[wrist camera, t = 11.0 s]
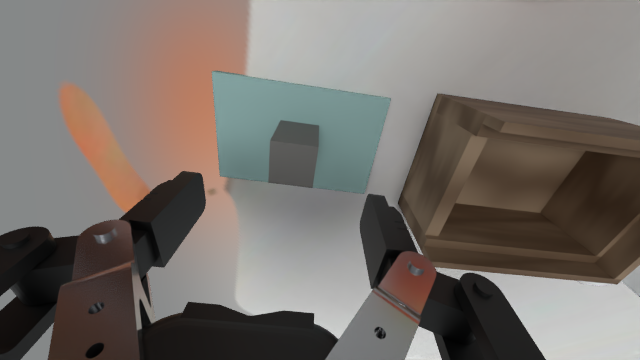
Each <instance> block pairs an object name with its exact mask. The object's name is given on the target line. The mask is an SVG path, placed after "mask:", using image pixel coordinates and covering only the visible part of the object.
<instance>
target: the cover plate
mask: <svg viewBox="0 0 640 360" xmlns="http://www.w3.org/2000/svg"><path fill="white" fill-rule="evenodd" d="M212 81H213V94H214V107H215V118H216V132H217V145H218V158H219V170H220V176H222V177H230V178H238V179H247V180H255V181H263V182H268V183H276V184H284V185H293V186H301V187H309V188H321V189H329V190H337V191H345V192H353V193H362V194H364V193H365V189H366V186H367V182H368V178H369V175H370V171H371V168H372V164H373V161H374V157H375V154H376V150H377V147H378V143H379V139H380V136H381V132H382V129H383V125H384V122H385V118H386V115H387V111H388V107H389V104H390V100H391V98H386V97H380V96H373V95H367V94H360V93H353V92H347V91H340V90H334V89H327V88H321V87H314V86H307V85H301V84H294V83H288V82H281V81H274V80H268V79H261V78H255V77H248V76H246V75H243V74H236V73H229V72H222V71H213V72H212Z"/></svg>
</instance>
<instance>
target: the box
mask: <svg viewBox="0 0 640 360" xmlns="http://www.w3.org/2000/svg"><path fill="white" fill-rule="evenodd" d="M398 204H399V206H400V208H401V210H402V212H403V214H404V216H405V218H406V220H407V223H408V225H409V227H410V229H411V231H412V233H413V235H414V237H415V239H416V241H417V243H418V245H419V247H420V249H421V251H422V253H423V255H424V257H426V258H427V259H428V260H429V261H430V262H431V263H432V264H433V265H434V267H440V268H450V269H461V270H471V271H482V272H492V273H503V274H513V275H524V276H534V277H545V278H555V279H566V280H576V281H586V282H597V283H607V284H618V283H619V282H620V281H622V280H623V279H624V278H625V277H626V276H627V275H629V274H630V273H631V272H632V271H633V270H634V269H636V268H637V267H638V266H639V265H640V126H638V125H634V124H630V123H627V122H623V121H619V120H615V119H611V118H604V117H597V116H591V115H584V114H577V113H570V112H563V111H556V110H549V109H542V108H535V107H528V106H521V105H514V104H507V103H500V102H493V101H486V100H479V99H472V98H465V97H458V96H452V95H445V94H437V97H436V99H435V102H434V105H433V108H432V110H431V113H430V116H429V119H428V121H427V124H426V127H425V130H424V133H423V135H422V138H421V141H420V144H419V146H418V149H417V152H416V155H415V157H414V160H413V163H412V166H411V168H410V171H409V174H408V177H407V180H406V182H405V185H404V188H403V191H402V193H401V196H400V199H399V202H398Z"/></svg>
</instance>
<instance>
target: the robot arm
mask: <svg viewBox="0 0 640 360" xmlns="http://www.w3.org/2000/svg"><path fill="white" fill-rule="evenodd" d="M205 204H206V199H205V191H204V184H203V177H202V175H201V174H200V173H195V172H186V171H182V172H181V173H180V174H179V175H178V176H176V177H175V178H174V179H173V180H168V181H167V182H164V183H162V184H160V185H158V186H157V187H156V188H154V189H153V190H152V191H151V192H150V194H148V195H146V196H145V197H144V199H143V200H141V201H140V202H138V203H137V204H136V205H135V206H134V207H133V208H132V209H130V210H129V211H128V212H127V213H126V214H125V215H124V216H122V217H121V218H120V219H119V220H108V221H104V222H100V223H98V224H95V225H93V226H91V227H89V228H87V229H86V230H85V231H83V232H82V233H81V234H80V235H79V236H70V237H60V238H53V237H52V235H51V233H50V232H49V230H48V229H46V228H44V227H26V228H21V229H17V230H14V231H11V232H8V233H5V234H3V235H1V236H0V296H1V295H2V294H3V293H5V292H6V291H7V290H8V289H9V288H10V289H11V290H12V291H13V292H14V293H15V295H16V297H15V298H14V299H13V300H12V301H11V302H10V303H9V304H7V305H6V306H5V307H4V308H3V309H2V310H1V311H0V360H20V359H21V358H22V357H23V356H24V355H25V354H26V353H27V352H28V351H29V349H30V348H31V347H32V346H33V345H34V344H35V343H36V342H37V341H38V339H39V338H40V337H41V336H42V335H43V334H44V333H45V332H46V330H47V329H48V328H49V327H50V326H51V324H53V323H54V325H53V331H52V337H51V343H50V349H49V355H48V360H405V357H406V355H407V352H408V350H409V348H410V345H411V343H412V340H413V338H414V335H415V333H416V330H417V328H418V326H420V327H422V328H424V329H427V330H429V331H431V332H433V333H434V336H435V340H436V343H437V346H438V349H439V352H440V355H441V358H442V360H546V359H545V358H544V356H543V355H542V353H541V351H540V350H539V348H538V347H537V345H536V344H535V342H534V341H533V339H532V338H531V336H530V335H529V333H528V331H527V330H526V328H525V327H524V325H523V324H522V322H521V321H520V319H519V318H518V316H517V315H516V313H515V311H514V310H513V308H512V307H511V305H510V304H509V302H508V301H507V299H506V298H505V296H504V294H503V293H502V292H501V290H500V289H499V288H498V287H497V286H496V285H495V284H494V283H493V282H491V281H490V280H488V279H487V278H485V277H483V276H481V275H478V274H475V273H465V274H463V275H462V277H461V278H460V280H458V279H455V278H452V277H450V276H447V275H444V274H441V273H439V272H437V271H436V269H435V267H434V265H433V264H432V263H431V262H430V261H429V260H428V259H427V258H426V257H424V256H423V255H421V254H419V253H418V251H417V249H416V247H415V245H414V242H413V240H412V238H411V236H410V233H409V231H408V230H407V227H406V224H404V220H403V218H402V215H401V214H400V213H399V212H398V211H397V210H396V209H395V208H394V207H389V206H388V203H387V201H386V198H385V196H382V195H373V194H368V196H367V199H366V202H365V206H364V209H363V213H362V216H361V220H360V233H361V238H362V243H363V249H364V254H365V259H366V264H367V270H368V275H369V280H370V285H371V289H373V290H372V292H371V293H370V294H369V296H368V297H367V299H366V300H365V302H364V303H363V305H362V306H361V308H360V309H359V311H358V312H357V314H356V315H355V317H354V318H353V319H352V321H351V322H350V324H349V325H348V327H347V328H346V330H345V331H344V333H343V334H342V336H341V337H340V339H337V338H336V337H335V336H334V335H333V334H332V333H330V332H329V331H328V330H326V329H324V328H323V327H321V326H319V325H316V324H314V313H304V312H293V311H279V312H273V313H267V314H261V315H255V316H247V315H245V314H242V313H240V312H237V311H235V310H232V309H229V308H227V307H224V306H222V305H216V304H205V303H194V302H188V303H187V305H186V307H185V309H184V311H183V313H178V314H174V315H171V316H168V317H165V318H162V319H160V320H158V321H156V319H155V314H154V308H153V301H152V295H151V289H150V283H149V277H148V273H147V272H148V271H149V269H150V268H151V267H152V266H154V267H165V266H166V264H167V263H168V261H169V260H170V259H171V257H172V256H173V254H174V253H175V251H176V250H177V248H178V247H179V246H180V244H181V243H182V242H183V240H184V239H185V237H186V236H187V234H188V233H189V232H190V230H191V228H192V227H193V226H194V224H195V223H196V222H197V220H198V219H199V217H200V216H201V215H202V213H203V211H204V209H205Z"/></svg>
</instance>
